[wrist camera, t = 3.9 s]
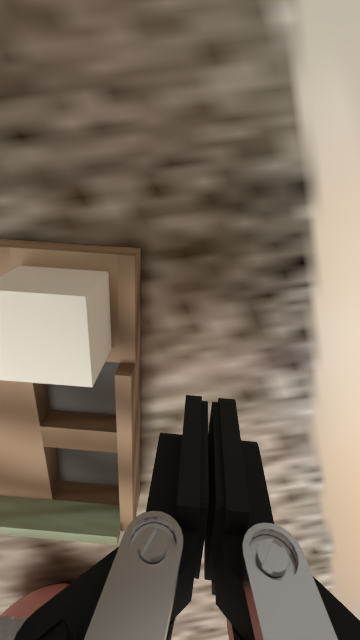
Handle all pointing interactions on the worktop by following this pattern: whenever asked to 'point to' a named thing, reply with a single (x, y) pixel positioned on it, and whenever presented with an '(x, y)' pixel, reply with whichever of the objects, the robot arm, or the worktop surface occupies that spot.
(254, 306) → the worktop surface
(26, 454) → the box
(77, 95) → the worktop surface
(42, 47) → the worktop surface
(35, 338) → the block
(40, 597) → the balloon
